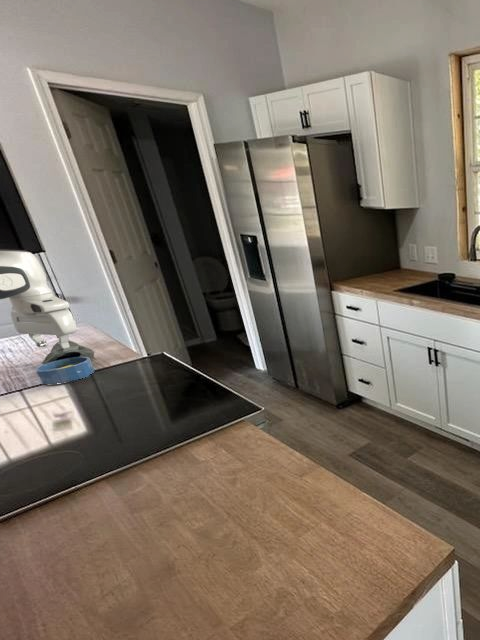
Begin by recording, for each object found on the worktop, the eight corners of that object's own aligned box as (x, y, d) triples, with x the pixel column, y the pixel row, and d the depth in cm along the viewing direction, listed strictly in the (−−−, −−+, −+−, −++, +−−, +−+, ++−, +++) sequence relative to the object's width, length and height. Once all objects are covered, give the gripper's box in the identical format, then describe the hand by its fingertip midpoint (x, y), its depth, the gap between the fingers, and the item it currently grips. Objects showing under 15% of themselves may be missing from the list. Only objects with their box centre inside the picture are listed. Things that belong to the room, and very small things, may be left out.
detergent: (99, 364, 143) (95, 348, 159) (89, 346, 139) (86, 330, 156) (46, 379, 134) (47, 360, 150) (34, 360, 131) (36, 342, 147)
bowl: (60, 387, 126) (53, 372, 124) (31, 384, 128) (24, 370, 127) (105, 371, 137) (99, 357, 135) (77, 369, 140) (71, 355, 138)
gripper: (-4, 305, 123) (16, 349, 128) (46, 307, 119) (65, 352, 124) (24, 301, 129) (42, 342, 134) (72, 302, 125) (89, 345, 129)
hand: (53, 347), depth 129 cm, fingers open, 8 cm apart
